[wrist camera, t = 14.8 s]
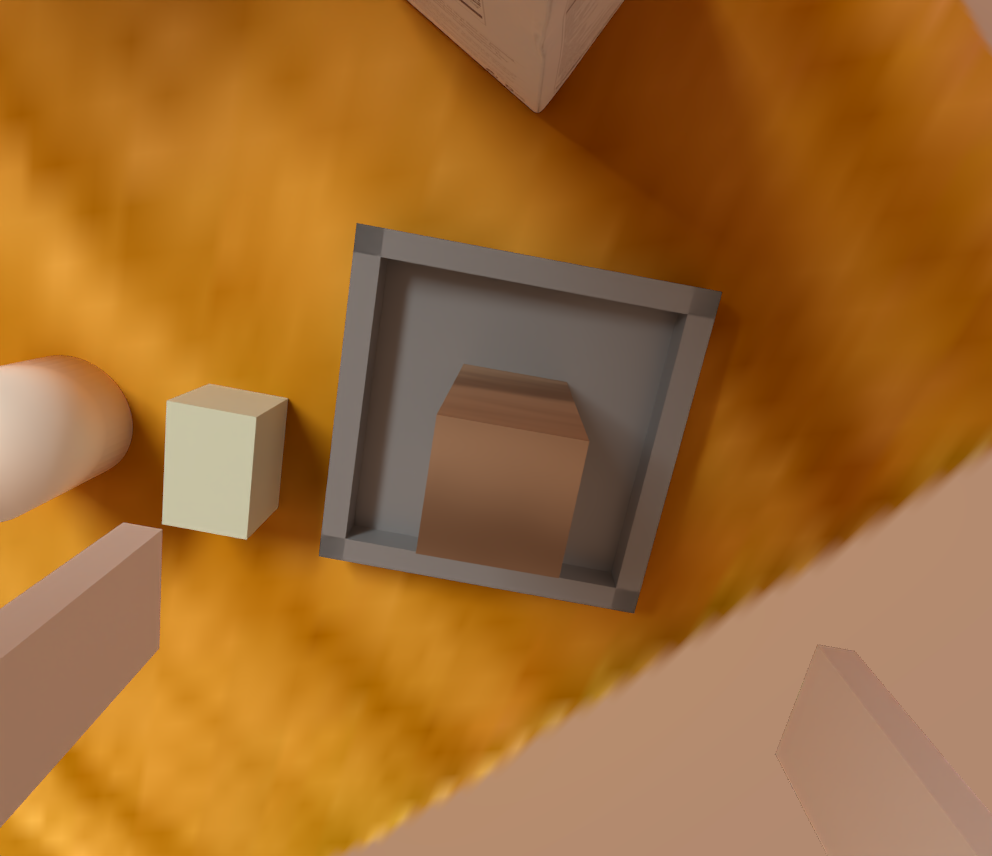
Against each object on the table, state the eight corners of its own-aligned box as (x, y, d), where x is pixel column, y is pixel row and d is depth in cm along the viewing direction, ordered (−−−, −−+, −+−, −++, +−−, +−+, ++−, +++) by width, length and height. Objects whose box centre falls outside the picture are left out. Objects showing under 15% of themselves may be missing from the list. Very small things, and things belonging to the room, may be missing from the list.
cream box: (210, 383, 31) (166, 400, 27) (289, 397, 31) (256, 417, 27) (204, 492, 33) (161, 524, 29) (279, 506, 33) (246, 539, 29)
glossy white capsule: (7, 344, 31) (-111, 364, 25) (134, 367, 31) (45, 393, 25) (11, 463, 32) (-99, 508, 27) (131, 485, 33) (48, 534, 27)
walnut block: (463, 363, 29) (436, 414, 20) (566, 381, 30) (589, 441, 20) (448, 461, 31) (415, 553, 21) (546, 478, 31) (559, 578, 21)
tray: (368, 225, 29) (356, 223, 26) (707, 289, 29) (722, 291, 27) (331, 536, 33) (318, 556, 31) (626, 590, 33) (633, 613, 31)
